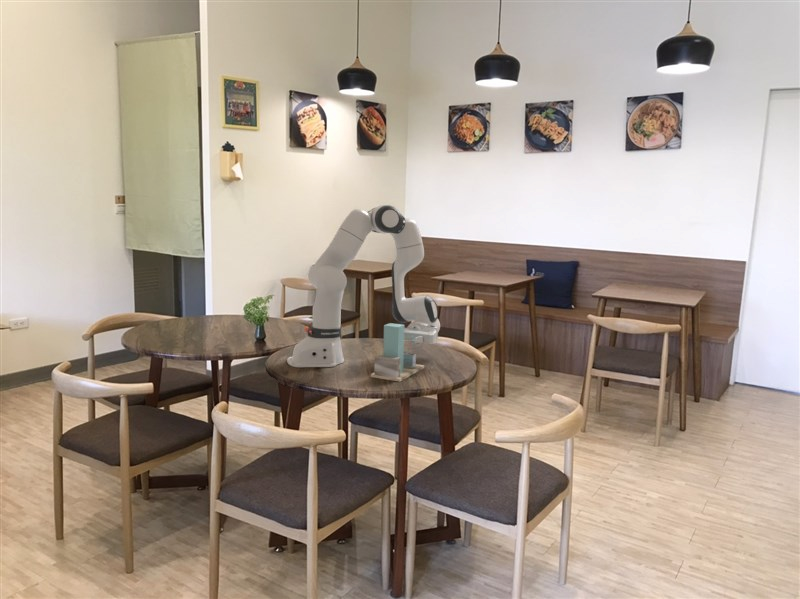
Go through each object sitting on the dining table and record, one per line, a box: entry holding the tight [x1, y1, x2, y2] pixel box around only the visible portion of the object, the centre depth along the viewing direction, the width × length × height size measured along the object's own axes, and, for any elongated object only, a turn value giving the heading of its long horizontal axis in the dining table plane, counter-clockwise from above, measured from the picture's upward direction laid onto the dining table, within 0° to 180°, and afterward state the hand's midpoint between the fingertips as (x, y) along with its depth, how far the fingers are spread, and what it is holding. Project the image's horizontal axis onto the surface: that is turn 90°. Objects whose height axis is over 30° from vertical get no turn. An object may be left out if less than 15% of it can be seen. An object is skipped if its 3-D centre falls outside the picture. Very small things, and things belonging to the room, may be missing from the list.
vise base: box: [370, 354, 425, 383], centre depth 242 cm, size 22×12×8 cm, turn 155°
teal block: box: [382, 322, 406, 373], centre depth 237 cm, size 5×6×18 cm
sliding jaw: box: [403, 351, 417, 369], centre depth 246 cm, size 3×9×5 cm, turn 65°
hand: (402, 338), depth 244 cm, fingers open, 8 cm apart
